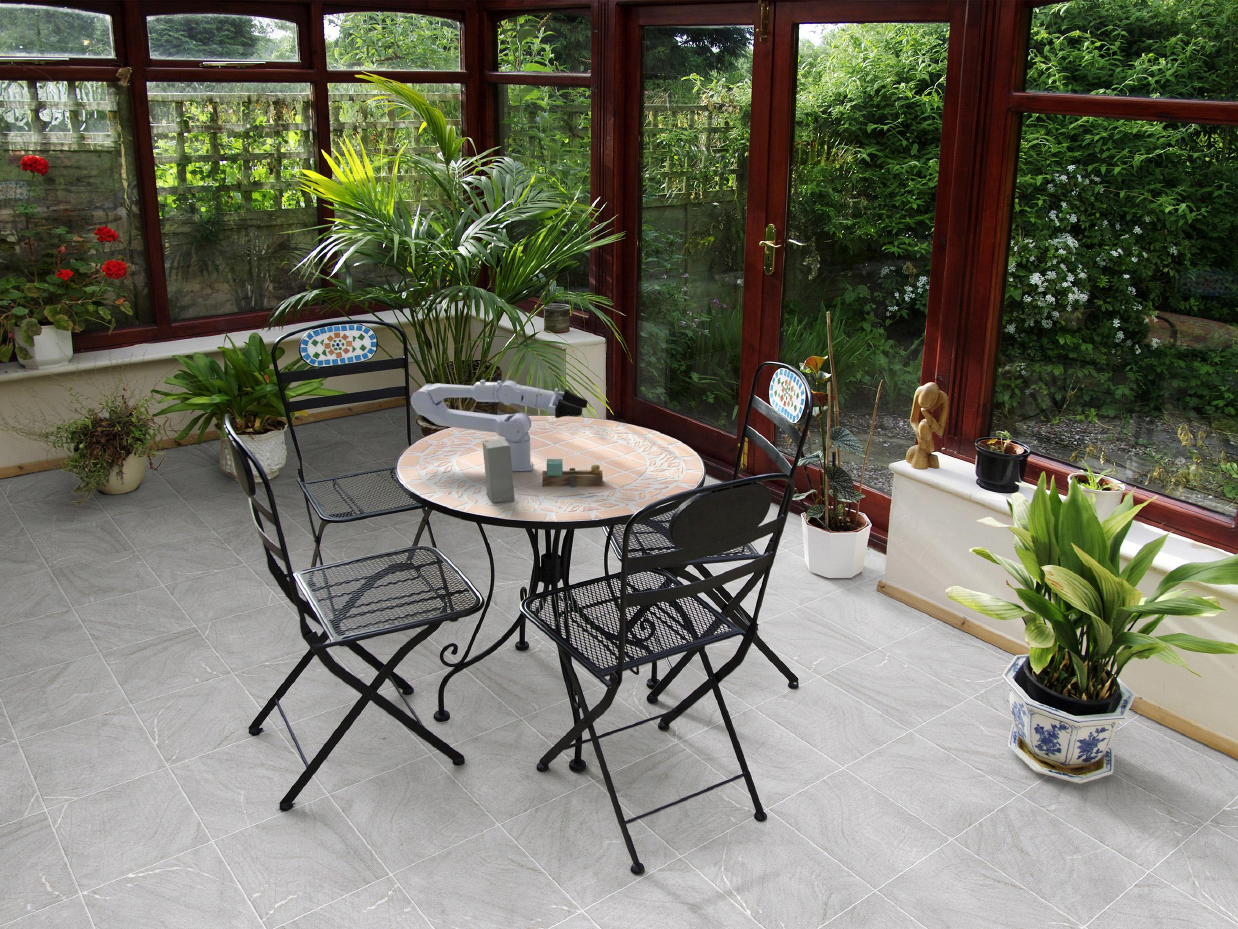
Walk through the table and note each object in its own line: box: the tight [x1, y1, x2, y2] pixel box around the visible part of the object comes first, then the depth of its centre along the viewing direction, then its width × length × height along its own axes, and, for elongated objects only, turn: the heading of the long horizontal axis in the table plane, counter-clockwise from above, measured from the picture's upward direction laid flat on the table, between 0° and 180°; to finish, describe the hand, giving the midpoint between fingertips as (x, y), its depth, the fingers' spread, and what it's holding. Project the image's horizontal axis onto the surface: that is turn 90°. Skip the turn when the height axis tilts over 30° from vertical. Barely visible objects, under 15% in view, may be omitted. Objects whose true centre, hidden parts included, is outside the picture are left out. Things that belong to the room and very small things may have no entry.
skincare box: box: [482, 438, 515, 504], centre depth 299 cm, size 8×7×16 cm
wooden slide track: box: [541, 464, 604, 488], centre depth 313 cm, size 17×7×5 cm, turn 92°
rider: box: [546, 458, 564, 476], centre depth 312 cm, size 4×4×5 cm
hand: (584, 408), depth 318 cm, fingers open, 7 cm apart
